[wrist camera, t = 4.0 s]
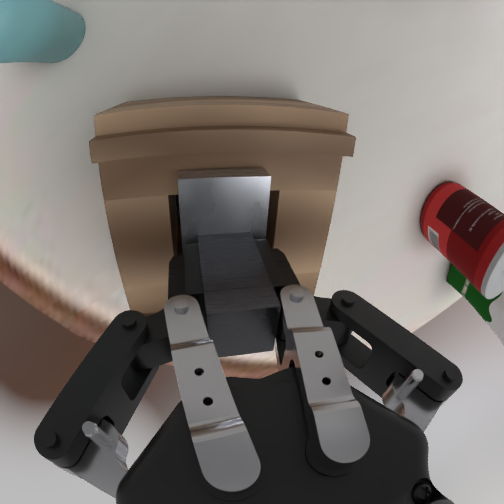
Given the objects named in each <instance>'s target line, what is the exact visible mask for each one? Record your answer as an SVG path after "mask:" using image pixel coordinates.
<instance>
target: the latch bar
mask: <svg viewBox="0 0 504 504" xmlns="http://www.w3.org/2000/svg"><path fill="white" fill-rule="evenodd" d="M270 185H271V176H270V174H269V173H268V172H267V171H266V169H265V168H233V169H205V170H186V171H178V193H179V209H180V223H181V236H182V247H183V255H184V244H195V243H198V245H199V255H200V265H201V274H202V283H203V291H204V304H205V317H206V329H207V333H208V336H209V338H210V339H212V341H213V343H214V346H215V349H216V352H217V355H218V357H226V356H234V355H243V354H250V353H258V352H265V351H272V350H273V349H274V343H275V338H276V332H277V326H278V321H279V315H280V309H281V305H280V302H279V300H278V297H277V295H276V293H275V290H274V288H273V285H272V283H271V280H270V278H269V275H268V273H267V270H266V268H265V265H264V263H263V260H262V258H261V255H260V253H259V250H258V248H257V245H256V243H255V241H254V240H257V239H266V230H267V219H268V207H269V196H270Z"/></svg>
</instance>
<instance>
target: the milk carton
mask: <svg viewBox="0 0 504 504" xmlns="http://www.w3.org/2000/svg"><path fill="white" fill-rule="evenodd" d="M447 282H448V283H449V284H450V285H451V286H452V287H454V288H455V289H456V290H457V291H458V292H459V293H460V294H461V295H462V296H463V297H465V298H466V299H467V300H468V301H469V303H470V304H471V305H472V306H473V307H474V308H475V309H476V311H477V312H478V313H479V314H480V315H481V316H482V318H483V319H484V320H485V321H486V323H487V324H488V325H489V326H490V328H491V329H492V330H493V331H494V333H495V334H496V335H497V337H498V338H499V339H500V340H501V342H502V343H503V345H504V291H503V292H501V293H500V294H499V295H498V296H496V297H494V298H492V299H487V298H485V296H483V295H482V294H481V293H480V292H479V291H478V290H477V289H476V288H475V287H474V286H473V285H472V284H471V283H470V281H469V280H468V279H467V278H466V277H465V276H464V275H463V274H462V273H461V272H460V271H459V270H458V269H457V268H456V267H455V266H454V265H453V264H452V263H451V267H450V271H449V274H448V277H447Z"/></svg>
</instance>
